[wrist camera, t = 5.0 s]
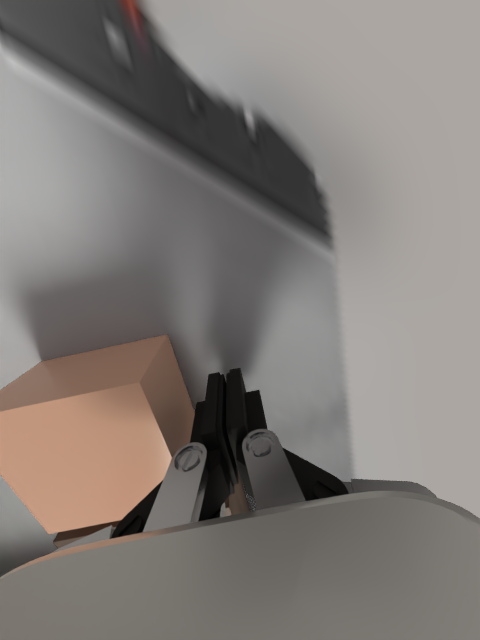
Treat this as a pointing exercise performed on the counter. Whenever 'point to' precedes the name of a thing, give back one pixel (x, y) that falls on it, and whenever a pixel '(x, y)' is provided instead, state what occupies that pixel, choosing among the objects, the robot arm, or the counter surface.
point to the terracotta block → (93, 432)
